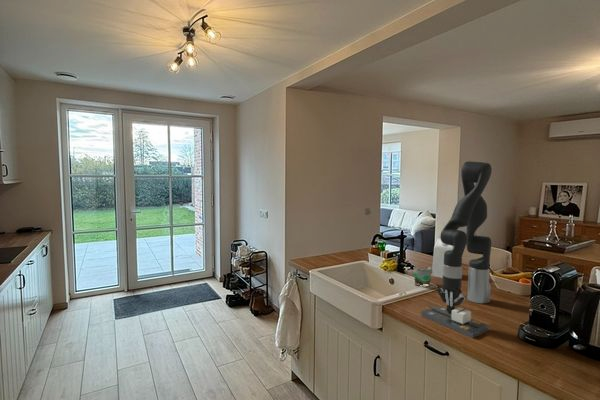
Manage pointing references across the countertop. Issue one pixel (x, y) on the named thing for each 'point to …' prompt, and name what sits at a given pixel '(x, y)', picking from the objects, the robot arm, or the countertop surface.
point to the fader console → (442, 317)
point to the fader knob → (461, 315)
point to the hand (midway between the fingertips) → (450, 313)
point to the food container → (422, 276)
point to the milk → (439, 257)
